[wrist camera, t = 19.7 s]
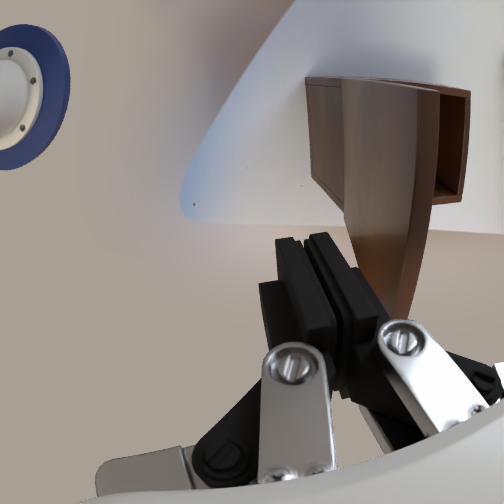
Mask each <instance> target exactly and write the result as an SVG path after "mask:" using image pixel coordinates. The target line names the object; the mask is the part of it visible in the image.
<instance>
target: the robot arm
mask: <svg viewBox="0 0 504 504" xmlns="http://www.w3.org/2000/svg"><path fill="white" fill-rule="evenodd" d="M42 98H43V79H42V73H41V70H40V67H39V65H38V63H37V61H36V59H35V58H34V57H33V56H32V54H31V53H29V52H28V51H26V50H25V49H22V48H18V47H8V48H3V49H0V150H4V149H7V148H10V147H12V146H14V145H16V144H17V143H18V142H20V141H21V140H22V139H23V138H24V137H25V136H26V135H27V134H28V133H29V132H30V130H31V129H32V127H33V125H34V124H35V121H36V119H37V117H38V115H39V111H40V108H41V104H42ZM275 247H276V259H277V272H278V280H276V281H270V282H264V283H259V294H260V301H261V308H262V315H263V321H264V327H265V332H266V337H267V342H268V348H269V352H268V353H267V355H266V357H265V358H264V359H263V364H262V377H261V379H260V380H259V381H258V382H257V383H256V384H255V385H254V386H253V387H252V388H251V390H250V391H248V393H247V394H246V395H245V396H244V397H243V398H242V399H241V400H240V401H239V402H238V403H237V404H236V405H235V406H234V407H233V408H232V409H231V410H230V411H229V412H228V413H227V414H226V415H225V416H224V417H223V418H222V419H221V420H220V421H219V422H218V423H217V424H216V425H215V426H214V427H213V428H212V429H211V430H210V431H208V433H206V434H205V435H204V436H203V437H202V438H201V439H200V440H199V441H198V443H197V444H196V445H193V446H189V447H185V448H182V447H181V446H176V447H172V448H168V449H163V450H159V451H154V452H150V453H144V454H140V455H134V456H129V457H122V458H116V459H112V460H109V461H106V462H105V463H103V465H101V466H100V467H99V469H98V471H97V473H96V478H95V485H96V493H97V497H95V498H91V499H88V500H85V501H81V502H79V503H77V504H504V362H502V363H498V364H494V365H493V367H492V368H491V367H489V366H487V365H485V364H483V363H480V362H476V361H474V360H471V359H468V358H465V357H462V356H459V355H456V354H453V353H450V352H448V351H445V350H444V349H442V347H441V346H440V345H439V344H438V343H437V341H436V340H435V339H434V338H433V337H432V336H431V334H430V333H429V332H428V331H427V330H426V329H425V328H424V327H423V326H422V325H420V324H419V323H417V322H415V321H413V320H409V319H394V320H391V318H390V316H389V315H388V313H387V311H386V310H385V308H384V307H383V305H382V303H381V302H380V300H379V298H378V297H377V295H376V294H375V292H374V291H373V289H372V287H371V286H370V284H369V283H368V281H367V280H366V278H365V277H364V275H363V273H362V272H361V270H360V269H359V268H357V267H353V268H350V266H349V265H348V263H347V262H346V260H345V258H344V257H343V255H342V254H341V252H340V251H339V249H338V247H337V246H336V244H335V243H334V241H333V240H332V238H331V237H330V235H329V234H328V233H327V232H322V233H316V234H311V235H310V236H309V239H305V240H304V248H303V246H302V243H301V241H300V240H298V241H295V240H294V239H293V237H288V238H281V239H275ZM338 390H339V392H340V395H341V398H342V399H345V398H349V397H350V399H351V401H352V402H355V403H357V404H359V408H360V411H361V413H362V415H363V417H364V419H365V420H366V422H367V424H368V426H369V427H370V429H371V431H372V432H373V435H374V436H375V438H376V440H377V442H378V443H379V445H380V447H381V449H382V451H383V452H384V454H385V455H383V456H380V457H377V458H374V459H370V460H367V461H364V462H361V463H358V464H354V465H351V466H347V467H343V468H340V469H338V466H337V456H336V446H335V436H334V427H333V419H332V410H331V397H332V391H338Z"/></svg>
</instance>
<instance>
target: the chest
mask: <svg viewBox="0 0 504 504" xmlns="http://www.w3.org/2000/svg"><path fill="white" fill-rule="evenodd" d="M341 78H355V79H366V80H375V81H383V82H391V83H398V84H405V85H411V86H417V87H422V88H428V89H433V90H437V91H439V93H440V114H439V140H438V155H437V167H436V177H435V186H434V194H433V202H432V205H438V204H447V203H456V202H461V200H462V194H463V187H464V180H465V173H466V164H467V155H468V144H469V130H470V104H471V99H470V98H471V91H470V90H465V89H460V88H455V87H449V86H444V85H438V84H431V83H424V82H417V81H408V80H398V79H385V78H367V77H305V86H306V97H307V110H308V124H309V140H310V158H311V177H312V178H313V179H314V180H315V181H316V182H317V184H318V185H319V186H320V187H321V188H322V189H323V190H324V191H325V192H326V193H327V195H328V196H329V197H330V198H331V199H332V200H333V201H334V202H335V204H336V205H337V206H338V207H339V208H340V209H341V210H342V211H343V213H344V124H343V102H342V86H341Z"/></svg>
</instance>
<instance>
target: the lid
mask: <svg viewBox="0 0 504 504" xmlns="http://www.w3.org/2000/svg"><path fill="white" fill-rule="evenodd" d="M341 86H342V102H343V124H344V221H345V224H346V227H347V230H348V233H349V236H350V240H351V243H352V247H353V250H354V253H355V257H356V260H357V264H358V267H359V269H360V270H361V272H362V273H363V275H364V277H365V278H366V280H367V281H368V283H369V284H370V286H371V287H372V289H373V291H374V292H375V294H376V295H377V297H378V298H379V300H380V302H381V303H382V305H383V307H384V308H385V310H386V311H387V313H388V315H389V316H390V318H391V320H394V319H407V318H408V315H409V311H410V307H411V304H412V300H413V296H414V292H415V289H416V285H417V281H418V276H419V272H420V268H421V263H422V259H423V254H424V249H425V244H426V239H427V233H428V227H429V221H430V215H431V209H432V202H433V194H434V186H435V177H436V167H437V155H438V140H439V114H440V93H439V91H437V90H433V89H428V88H422V87H417V86H411V85H405V84H398V83H391V82H383V81H375V80H366V79H355V78H341Z"/></svg>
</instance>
